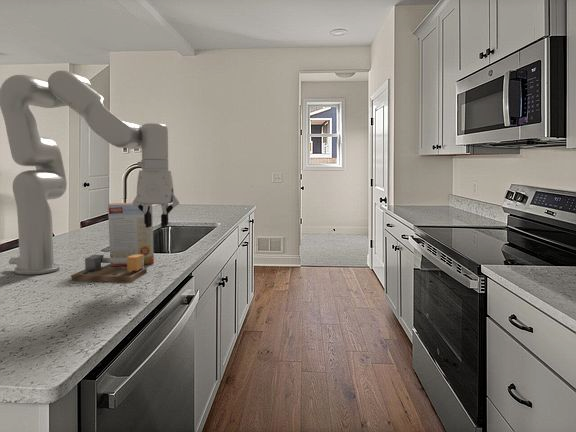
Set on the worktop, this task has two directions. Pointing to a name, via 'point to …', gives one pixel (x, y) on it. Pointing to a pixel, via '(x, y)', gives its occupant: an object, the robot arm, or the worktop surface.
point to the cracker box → (129, 233)
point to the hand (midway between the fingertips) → (156, 226)
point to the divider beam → (95, 262)
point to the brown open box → (109, 275)
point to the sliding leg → (134, 262)
